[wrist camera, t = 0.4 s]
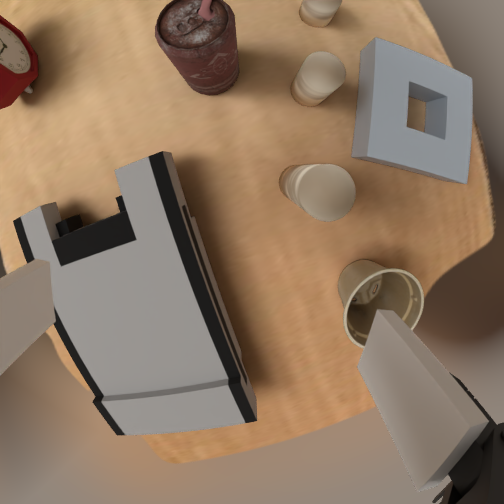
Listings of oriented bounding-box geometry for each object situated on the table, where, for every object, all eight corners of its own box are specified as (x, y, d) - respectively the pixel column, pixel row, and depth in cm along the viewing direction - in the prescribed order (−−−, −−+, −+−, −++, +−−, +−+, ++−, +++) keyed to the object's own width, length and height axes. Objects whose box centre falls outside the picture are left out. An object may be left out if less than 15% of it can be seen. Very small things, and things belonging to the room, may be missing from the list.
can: (245, 52, 30) (245, -9, 16) (231, 100, 31) (220, 59, 18) (195, 43, 29) (168, -16, 16) (179, 91, 31) (140, 49, 17)
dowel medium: (292, 72, 30) (304, 47, 23) (326, 78, 30) (347, 56, 23) (288, 103, 31) (300, 85, 24) (323, 109, 31) (344, 94, 24)
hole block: (360, 51, 29) (375, 37, 24) (450, 84, 30) (472, 78, 25) (351, 157, 33) (367, 156, 28) (444, 180, 34) (466, 184, 29)
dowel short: (300, 0, 27) (307, -20, 23) (331, 6, 28) (342, -12, 23) (297, 23, 28) (304, 5, 24) (330, 30, 29) (341, 13, 24)
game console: (178, 154, 33) (158, 150, 25) (255, 380, 41) (257, 420, 33) (44, 211, 34) (6, 223, 26) (132, 400, 43) (117, 435, 35)
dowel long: (281, 162, 33) (304, 159, 20) (316, 168, 33) (359, 169, 20) (276, 197, 34) (296, 217, 21) (311, 202, 34) (350, 225, 21)
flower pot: (322, 318, 38) (339, 355, 30) (325, 247, 36) (348, 271, 28) (387, 312, 38) (414, 344, 30) (395, 245, 36) (430, 266, 28)
